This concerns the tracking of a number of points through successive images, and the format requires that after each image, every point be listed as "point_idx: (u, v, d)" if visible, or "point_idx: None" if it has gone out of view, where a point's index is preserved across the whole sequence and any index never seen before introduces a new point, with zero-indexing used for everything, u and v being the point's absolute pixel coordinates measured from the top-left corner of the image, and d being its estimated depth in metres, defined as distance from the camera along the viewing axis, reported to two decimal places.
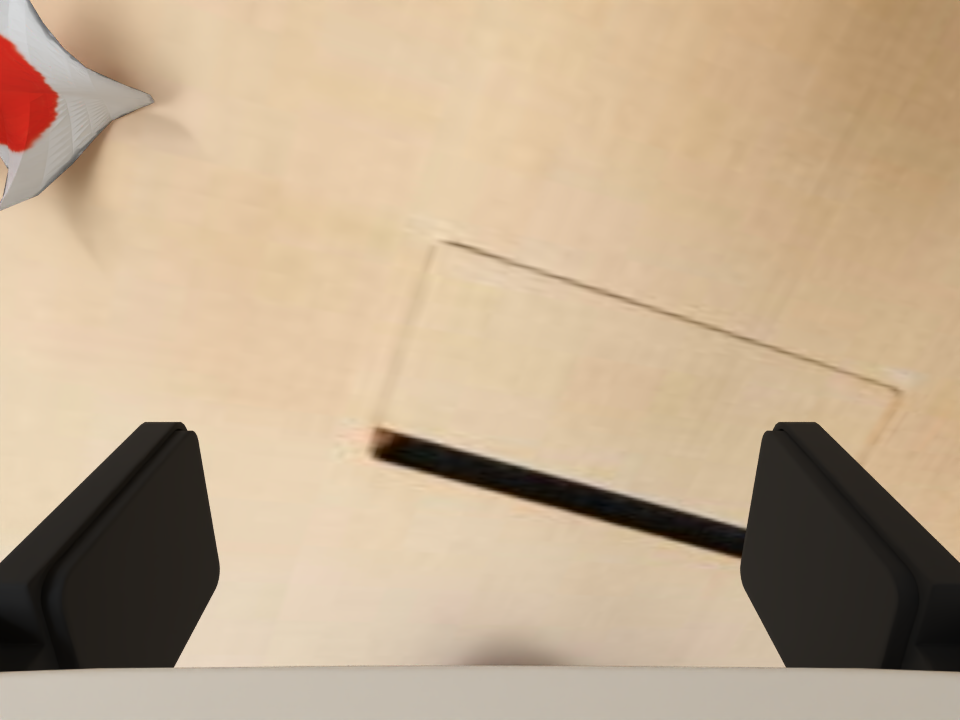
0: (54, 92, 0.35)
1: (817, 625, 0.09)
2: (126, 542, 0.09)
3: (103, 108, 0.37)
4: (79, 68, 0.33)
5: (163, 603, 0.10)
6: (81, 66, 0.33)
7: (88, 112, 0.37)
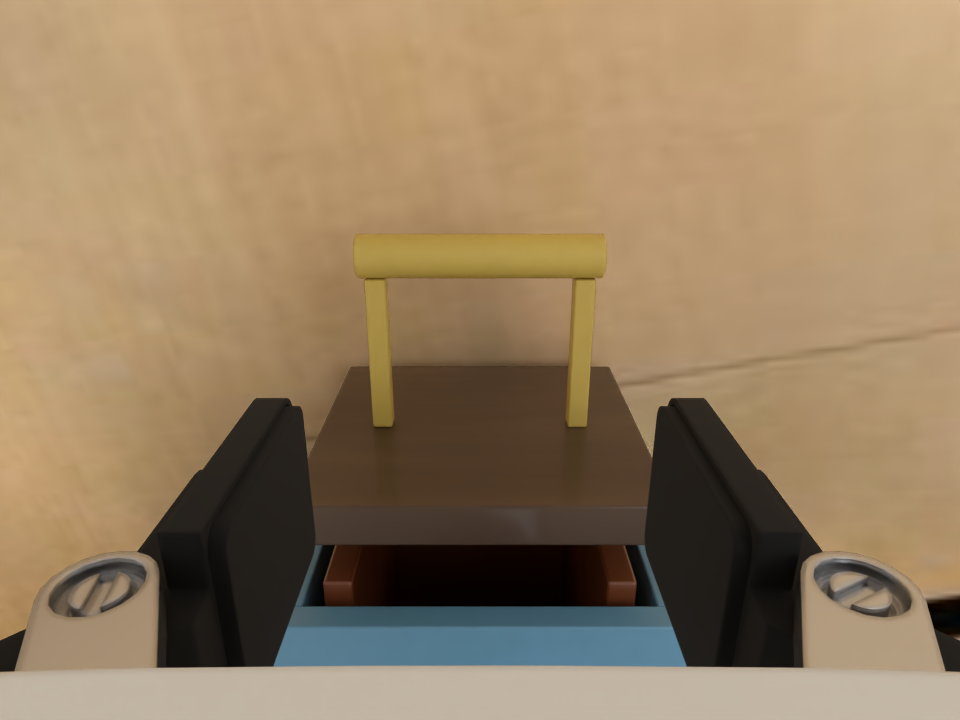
0: None
1: (689, 580, 0.10)
2: (261, 503, 0.09)
3: None
4: None
5: (282, 563, 0.10)
6: None
7: None
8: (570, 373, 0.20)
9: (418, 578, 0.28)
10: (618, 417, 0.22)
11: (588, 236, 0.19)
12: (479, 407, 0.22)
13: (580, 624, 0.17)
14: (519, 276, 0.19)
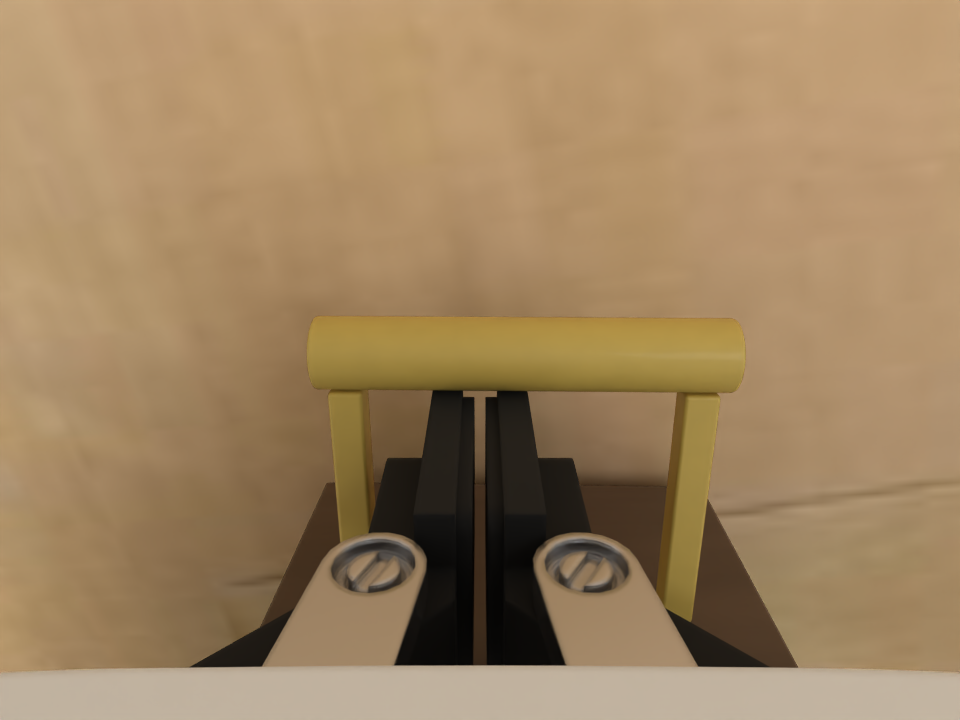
0: None
1: (487, 565, 0.10)
2: None
3: None
4: None
5: None
6: None
7: None
8: (669, 541, 0.12)
9: None
10: (738, 599, 0.14)
11: (711, 324, 0.11)
12: None
13: None
14: (590, 390, 0.11)
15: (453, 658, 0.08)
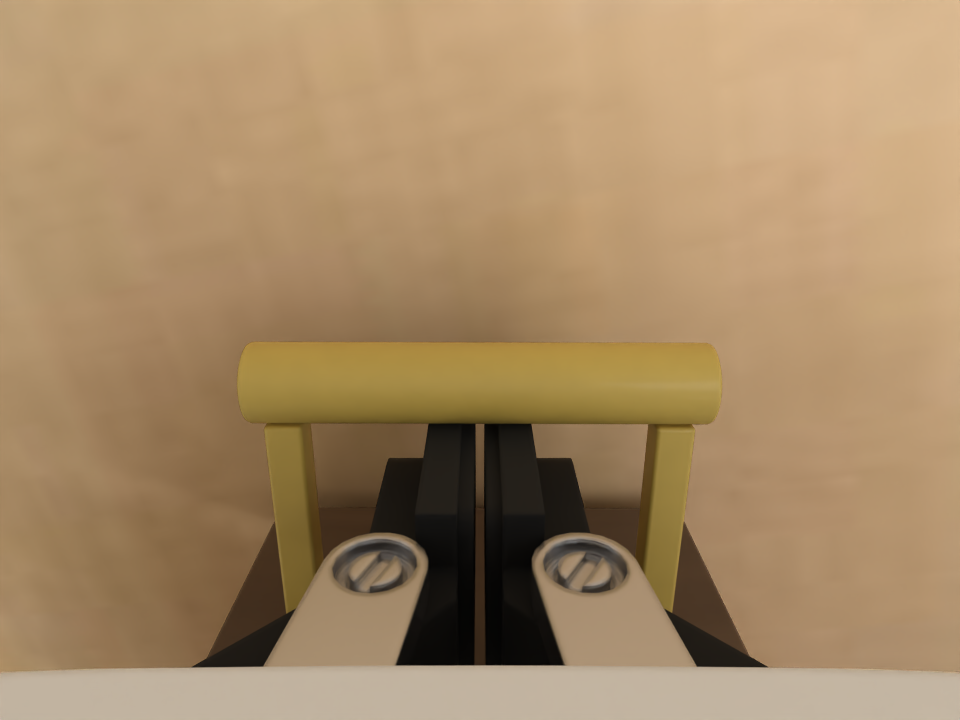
0: None
1: None
2: None
3: None
4: None
5: None
6: None
7: None
8: None
9: None
10: None
11: (684, 350, 0.10)
12: (477, 608, 0.13)
13: None
14: (553, 422, 0.10)
15: (455, 658, 0.08)
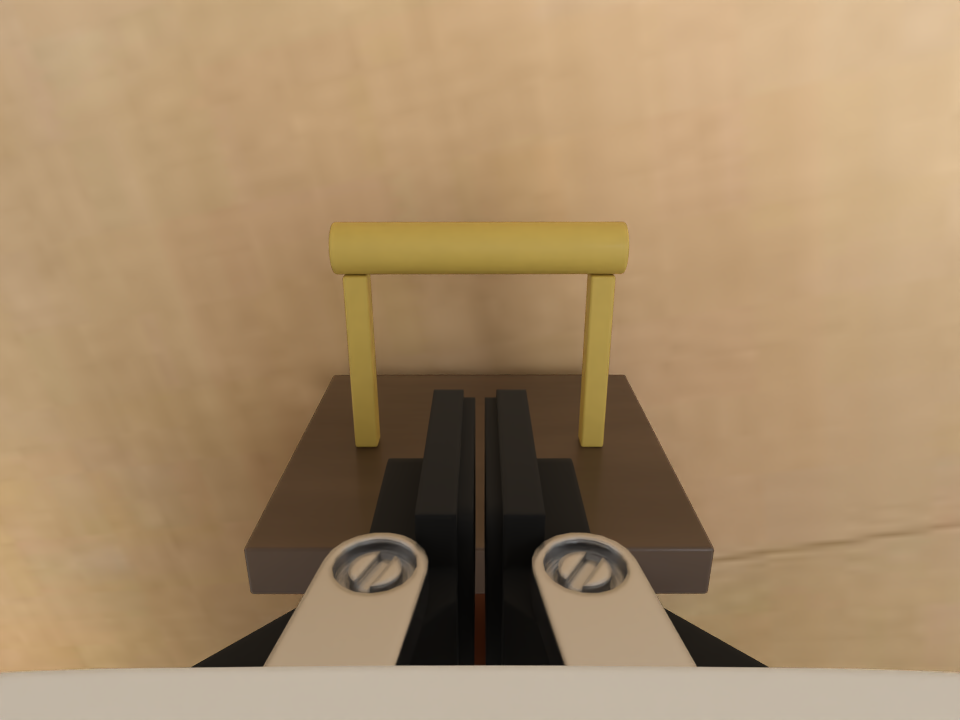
0: None
1: None
2: None
3: None
4: None
5: None
6: None
7: None
8: (584, 385, 0.17)
9: None
10: (638, 435, 0.19)
11: (606, 224, 0.16)
12: (478, 422, 0.19)
13: None
14: (525, 272, 0.16)
15: (454, 658, 0.08)
